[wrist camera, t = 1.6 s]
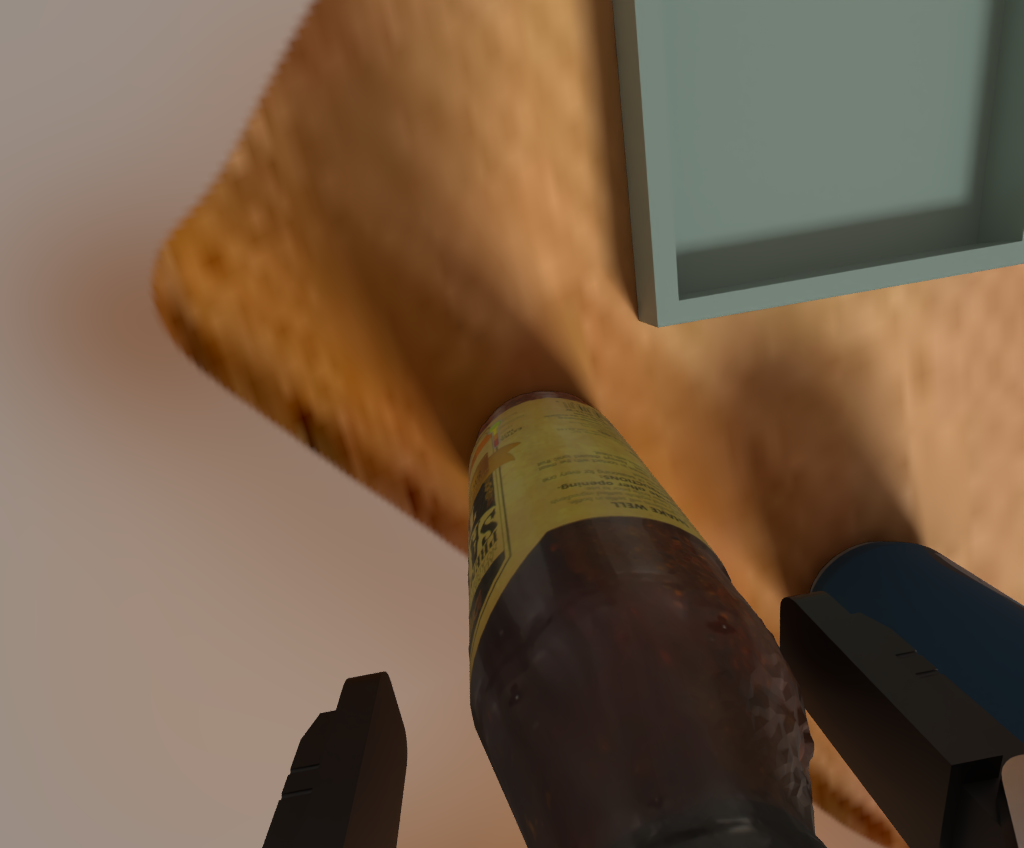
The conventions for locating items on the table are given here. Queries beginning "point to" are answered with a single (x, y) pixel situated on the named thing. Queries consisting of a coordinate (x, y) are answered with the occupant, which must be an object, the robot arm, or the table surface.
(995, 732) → the robot arm
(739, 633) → the sauce bottle
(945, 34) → the tray
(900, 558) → the soda can
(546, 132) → the table surface
